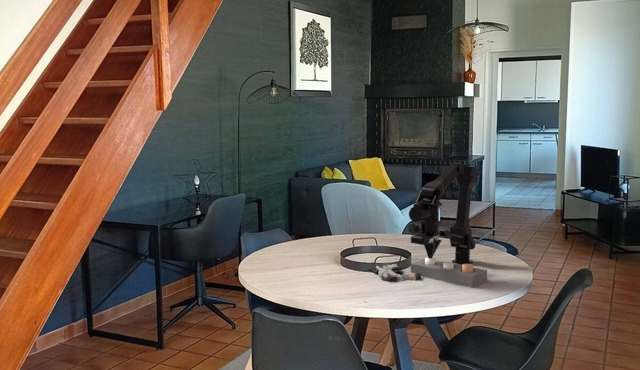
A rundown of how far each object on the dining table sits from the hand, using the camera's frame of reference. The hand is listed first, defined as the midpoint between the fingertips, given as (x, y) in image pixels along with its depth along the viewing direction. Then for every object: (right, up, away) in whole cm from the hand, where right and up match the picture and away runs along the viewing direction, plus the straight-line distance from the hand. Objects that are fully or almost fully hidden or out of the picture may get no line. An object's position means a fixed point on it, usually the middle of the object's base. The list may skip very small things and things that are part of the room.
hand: (430, 258), depth 236 cm
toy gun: (-14, -7, 0) cm, 15 cm away
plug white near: (0, -5, +1) cm, 5 cm away
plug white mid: (+6, -6, -5) cm, 10 cm away
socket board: (+6, -7, -5) cm, 10 cm away
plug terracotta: (+12, -6, -10) cm, 17 cm away
